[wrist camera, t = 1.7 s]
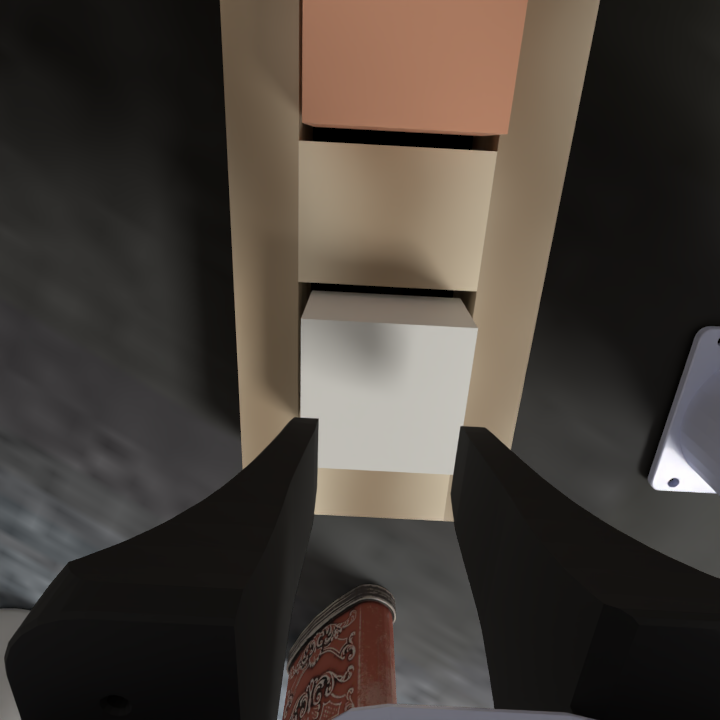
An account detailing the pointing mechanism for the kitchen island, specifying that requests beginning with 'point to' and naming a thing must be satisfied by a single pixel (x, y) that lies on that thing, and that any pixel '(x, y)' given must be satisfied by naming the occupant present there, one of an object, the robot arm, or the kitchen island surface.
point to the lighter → (344, 657)
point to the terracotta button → (411, 64)
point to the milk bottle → (3, 713)
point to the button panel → (390, 229)
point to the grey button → (386, 379)
